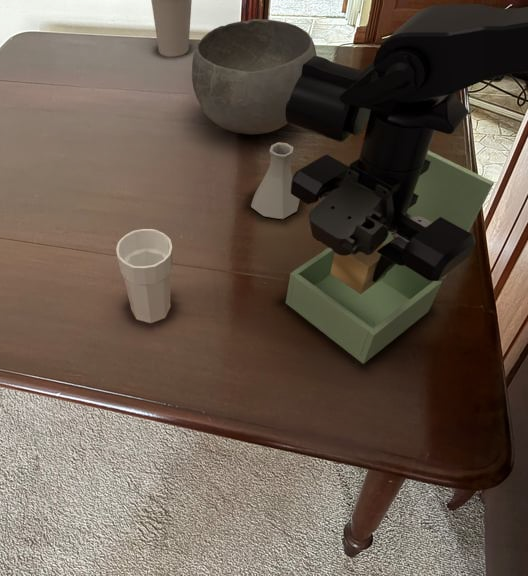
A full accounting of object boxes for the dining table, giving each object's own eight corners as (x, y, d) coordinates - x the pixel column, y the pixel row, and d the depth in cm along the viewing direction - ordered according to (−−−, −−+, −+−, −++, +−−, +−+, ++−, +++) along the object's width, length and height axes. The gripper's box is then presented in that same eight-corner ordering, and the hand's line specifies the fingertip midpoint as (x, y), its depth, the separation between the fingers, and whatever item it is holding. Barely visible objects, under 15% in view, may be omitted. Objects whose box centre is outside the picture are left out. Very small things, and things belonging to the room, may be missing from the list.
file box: (363, 364, 66) (374, 335, 62) (285, 303, 73) (290, 273, 69) (428, 311, 71) (443, 280, 66) (349, 258, 78) (357, 227, 74)
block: (385, 276, 65) (395, 248, 62) (360, 294, 64) (368, 267, 60) (354, 255, 68) (362, 228, 64) (329, 273, 66) (336, 246, 63)
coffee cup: (204, 46, 123) (204, -28, 112) (176, 64, 118) (173, -12, 107) (170, 36, 127) (167, -37, 116) (142, 52, 123) (136, -21, 112)
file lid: (491, 184, 57) (494, 182, 57) (386, 133, 64) (390, 131, 64) (442, 279, 66) (446, 277, 66) (356, 226, 73) (360, 224, 73)
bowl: (289, 86, 109) (299, 6, 98) (324, 146, 95) (340, 60, 84) (184, 101, 109) (182, 21, 97) (204, 163, 95) (204, 78, 84)
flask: (285, 226, 83) (293, 170, 76) (242, 209, 86) (245, 154, 79) (307, 199, 87) (317, 143, 79) (265, 183, 90) (271, 129, 82)
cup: (115, 309, 75) (104, 249, 67) (150, 281, 78) (144, 221, 70) (150, 335, 72) (143, 277, 63) (186, 306, 74) (183, 245, 66)
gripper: (260, 146, 56) (250, 258, 67) (426, 244, 45) (381, 357, 57) (336, 104, 60) (315, 216, 71) (506, 185, 49) (449, 302, 61)
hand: (359, 268), depth 65 cm, fingers closed on block, 4 cm apart
